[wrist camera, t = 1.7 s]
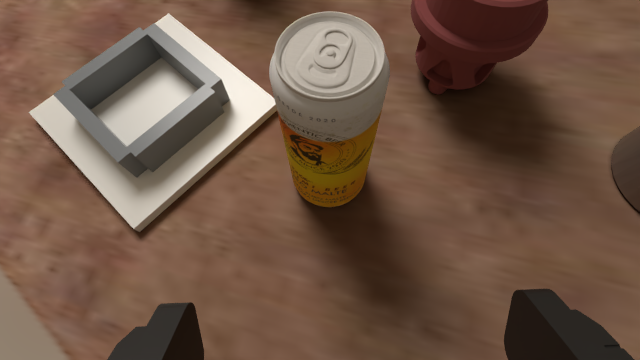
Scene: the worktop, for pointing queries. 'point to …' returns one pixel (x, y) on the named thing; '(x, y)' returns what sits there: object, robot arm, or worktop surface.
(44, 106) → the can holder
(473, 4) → the mechanical component
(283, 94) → the beer can
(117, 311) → the worktop surface
